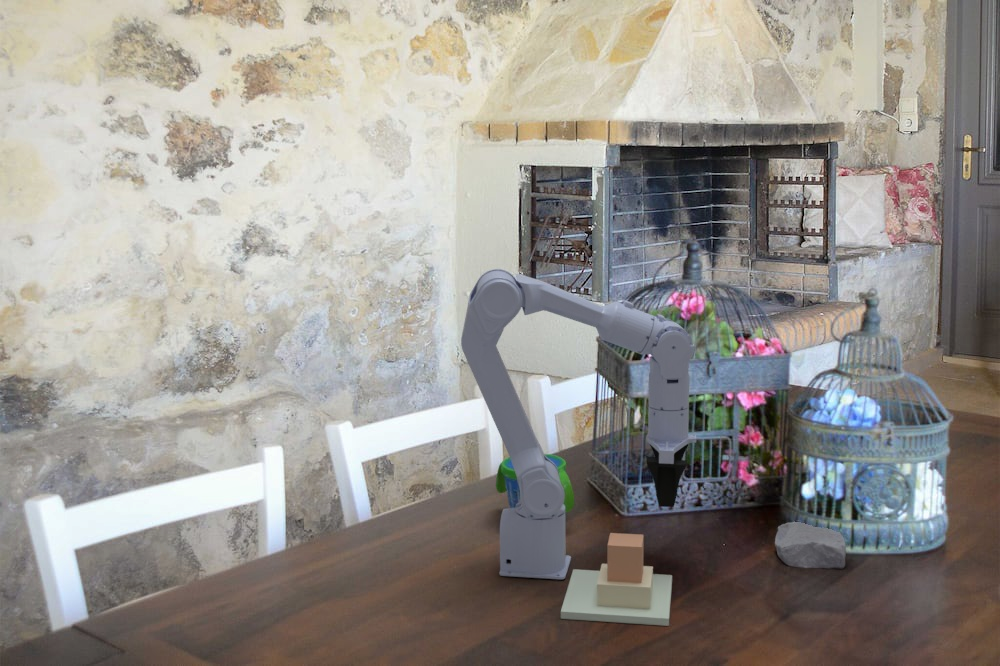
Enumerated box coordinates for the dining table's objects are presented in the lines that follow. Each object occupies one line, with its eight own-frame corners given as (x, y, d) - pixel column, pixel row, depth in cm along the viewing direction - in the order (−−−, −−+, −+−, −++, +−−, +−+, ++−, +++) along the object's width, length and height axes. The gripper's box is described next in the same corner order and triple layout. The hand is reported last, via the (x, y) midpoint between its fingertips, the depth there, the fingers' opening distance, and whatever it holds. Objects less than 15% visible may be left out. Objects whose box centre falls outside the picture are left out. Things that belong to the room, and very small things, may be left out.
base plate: (560, 618, 142) (560, 589, 141) (573, 575, 156) (573, 549, 155) (668, 625, 140) (669, 596, 139) (672, 581, 153) (672, 555, 152)
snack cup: (479, 516, 180) (478, 457, 178) (528, 502, 187) (527, 445, 185) (540, 543, 168) (540, 480, 166) (590, 527, 175) (590, 466, 173)
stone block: (781, 579, 158) (852, 570, 156) (775, 548, 158) (846, 538, 156) (775, 551, 170) (841, 542, 168) (770, 522, 169) (835, 512, 167)
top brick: (607, 580, 144) (607, 545, 143) (610, 567, 148) (610, 532, 147) (641, 583, 143) (641, 547, 142) (643, 569, 147) (643, 534, 147)
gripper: (696, 420, 147) (694, 515, 149) (697, 394, 161) (695, 482, 163) (644, 418, 148) (643, 513, 151) (649, 393, 162) (648, 480, 165)
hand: (667, 497), depth 157 cm, fingers open, 7 cm apart
